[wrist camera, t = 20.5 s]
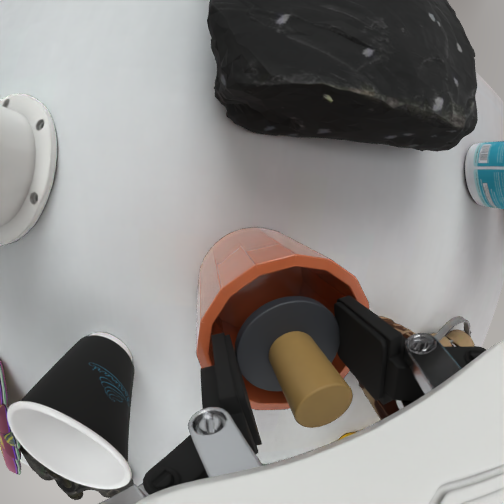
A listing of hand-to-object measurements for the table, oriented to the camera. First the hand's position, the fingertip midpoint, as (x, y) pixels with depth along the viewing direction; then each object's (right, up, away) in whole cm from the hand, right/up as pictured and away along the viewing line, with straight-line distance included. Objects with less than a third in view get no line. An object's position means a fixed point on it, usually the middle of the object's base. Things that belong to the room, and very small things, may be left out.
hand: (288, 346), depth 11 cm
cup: (-1, +2, +9) cm, 9 cm away
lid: (0, 0, 0) cm, 0 cm away
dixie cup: (-14, -5, +8) cm, 17 cm away
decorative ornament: (-25, -15, +1) cm, 29 cm away
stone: (+6, +25, +6) cm, 27 cm away
